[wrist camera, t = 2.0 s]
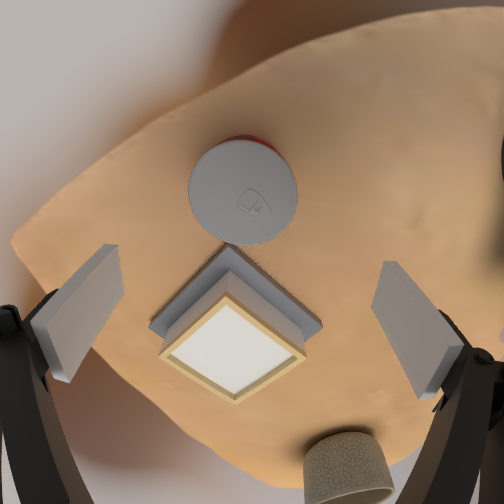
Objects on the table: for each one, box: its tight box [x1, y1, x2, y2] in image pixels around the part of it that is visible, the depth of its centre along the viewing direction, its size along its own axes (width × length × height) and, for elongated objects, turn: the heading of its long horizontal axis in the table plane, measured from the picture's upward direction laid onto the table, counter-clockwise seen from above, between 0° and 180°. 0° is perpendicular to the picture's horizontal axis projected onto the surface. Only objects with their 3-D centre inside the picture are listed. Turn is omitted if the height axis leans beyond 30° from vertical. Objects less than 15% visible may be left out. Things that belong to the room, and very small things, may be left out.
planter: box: [303, 432, 395, 504], centre depth 45 cm, size 17×17×15 cm
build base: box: [148, 243, 323, 405], centre depth 36 cm, size 16×16×7 cm
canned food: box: [188, 135, 297, 246], centre depth 26 cm, size 8×8×11 cm
